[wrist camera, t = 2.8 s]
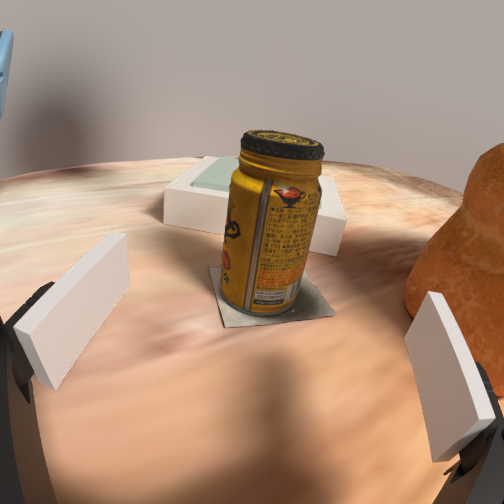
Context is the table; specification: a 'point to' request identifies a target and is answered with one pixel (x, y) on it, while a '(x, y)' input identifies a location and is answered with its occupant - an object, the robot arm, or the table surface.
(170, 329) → the table surface
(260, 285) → the condiment
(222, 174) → the riser
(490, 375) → the bread
